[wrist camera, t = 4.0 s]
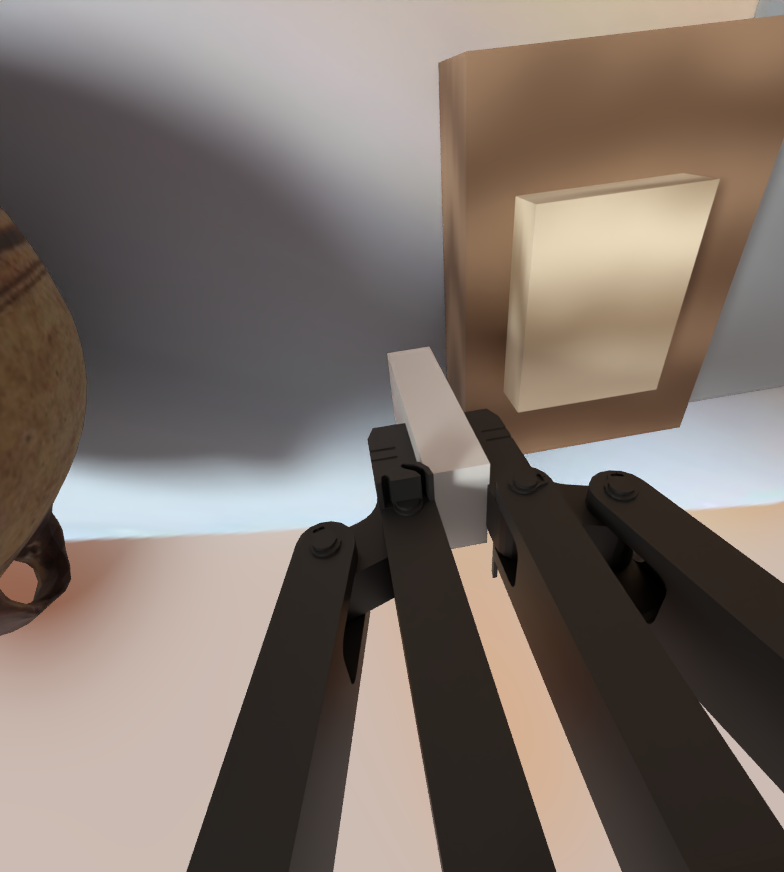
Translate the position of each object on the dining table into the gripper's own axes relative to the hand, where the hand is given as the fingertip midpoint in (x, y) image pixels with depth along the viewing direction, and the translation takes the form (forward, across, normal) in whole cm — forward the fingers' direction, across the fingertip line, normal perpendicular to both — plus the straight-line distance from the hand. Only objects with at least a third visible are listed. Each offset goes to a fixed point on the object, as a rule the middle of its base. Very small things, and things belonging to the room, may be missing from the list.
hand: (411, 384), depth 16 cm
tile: (+5, +9, 0) cm, 10 cm away
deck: (+9, +10, 0) cm, 13 cm away
